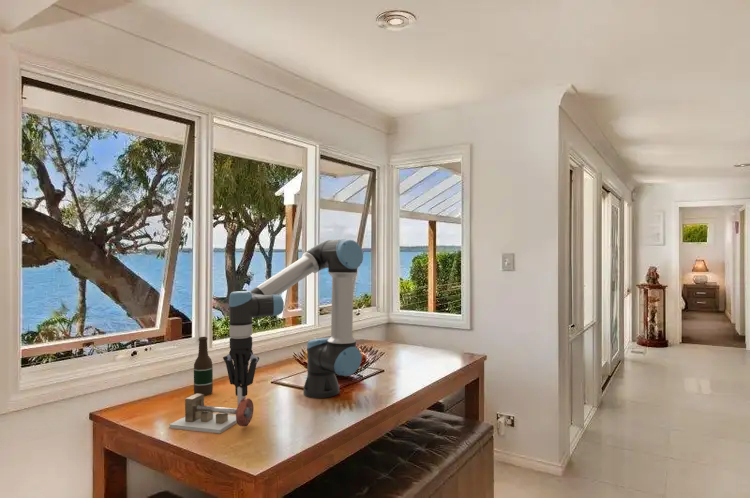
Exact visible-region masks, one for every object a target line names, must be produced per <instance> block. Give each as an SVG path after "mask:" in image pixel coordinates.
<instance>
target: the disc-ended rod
mask: <svg viewBox="0 0 750 498" xmlns="http://www.w3.org/2000/svg"><path fill="white" fill-rule="evenodd" d="M197 410H198V411H208V412H213V413H228V415H236V421H237V423H236V424H237V425H238V427H241V428H242V427H243V428H244V427H247V426H249V424H250V423H251V421H252V419H253V416H254V402H253V400H252V399H251V398H247V397H246V398H244V399H242V400H241V401H240V403H239V405H238V404H237V408H231V407H222V406H221V407H220V406H210V405H204V406H202V405H198V406H197Z"/></svg>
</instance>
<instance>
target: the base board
mask: <svg viewBox="0 0 750 498" xmlns="http://www.w3.org/2000/svg"><path fill="white" fill-rule="evenodd" d="M216 414H218V412H213V419H212V420H210V421H208V422H201V418H200V419H198V420H196V421H194V422H185V416H184V417H181V418H179V419H177V420H175V421H174V422H171V423H170V424H168V425H169V427H168V428H169V429H176V430H186V431H194V432H203V433H211V434H212V433H213V434H221V433H224V432H225V431H227V430H228V429H230V428H231V427H233V426H234V425H236V424H237V421H236V414H228V420H227V421H226V422H224V423H222V424H220V423H216Z"/></svg>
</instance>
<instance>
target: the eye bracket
mask: <svg viewBox="0 0 750 498" xmlns="http://www.w3.org/2000/svg"><path fill="white" fill-rule="evenodd" d="M198 405H202V406H205V396H204V394H199V393H196V394H194V393H193V394H192V395H190V396H188V397H185V398H184V408H185V409H184V411H185V412H184V415H185V416H184V417H185V422H194V421H196V420H198V419H200V418H201V422H208V421H210V420H212V419H213V413H214V412H208V411H198V410H197V406H198ZM217 413H218V412H217ZM228 415H229V414H228V413H218V414H216V423H220V424H222V423H224V422H226V421H227V420H228Z"/></svg>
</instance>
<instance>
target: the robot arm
mask: <svg viewBox="0 0 750 498" xmlns="http://www.w3.org/2000/svg"><path fill="white" fill-rule="evenodd" d="M363 261H364V253H363V250H362V247H361V245H359V243H358V242H356V241H354V240H353V239H346V238H345V239H327V240H323V241H322V242H320V243H318V244H316V245H314V246H313V247H311V248H310V249H308V250H306V251H305V252H303V254H302V255H301V258H299V259H297V260H296V261H293V263H291V264H290V265H288V266H286V267H285V268H283V269H282V270H280V271H278V272H277V273H276V274H274V275H272V276H271V277H270V278H268V279H266V280H265V281H263V282H262V283H261V284H259V285H257V286H256V287H254V288H252V289H251V290H241V291H239V290H238V291H237V290H236V291H231V293H230V294H229V300H228V308H229V309H228V311H229V333H228V334H229V335H228V336H229V337H230V338H229V352H228V354H227V355H225V356H223V357H222V359H223V361H224V363H225V366H226V370H227V375H228V376H227V377H228V380H229V383H230V385H233V386H234V387H235V390H234V391H235V392H234V393H235V397H237V406H238V405H239V403H240V401H241V400H242V399H244V398H247V397H246V396H248V387H249V386H251V385H252V384H253V383H254V379H255V374H256V369H257V364H258V362H259V360H260V357H259V356H255V355H254V352H253V319H255V318H263V317H264V318H265V317H274V316H279V315H281V314H282V313H283V311H284V308H285V305H284V304H285V303H284V299H283V297H282V296H281V294H283V293H284V292H285V291H287V290H289V289H290V288H292V287H294V285H295V284H296V285H297V284H298V283H299V282H301V281H302V280H303V279H305V278H306V277H308V276H309V275H311V274H312V273H314V274H316V273H318V272H319V271H321V270H324V269H327V270H328V271H327V273H328V274H329V276H331V318H330V319H331V320H330V321H331V324H330V325H331V326H330V337H320V338H315V339H310V340H308V341H307V344H306V346H307V347H306V351H307V352H306V355H307V356H306V359H307V360H306V361H307V375H306V378H305V382H304V385H303V393H302V394H303V396H305V397H308V398H313V399H325V398H332V397H336V396H337V395H339V393H340V385H339V382H338V378H337V376H336V374H337V375H338V376H345V377H347V376H352V375H353V374H355V373H356V372H357V370H358V369H359V368H360V366H361V364H362V352H361V351H360V349H359V348H358V347H357V340H356V339H355V337H354V336H353V322H354V321H353V320H354V319H353V317H354V316H353V313H354V312H353V311H354V308H353V307H354V277H355V276H356V275H357V274H358V268H359V267H361V264H362V263H363ZM249 362H250V363H249Z"/></svg>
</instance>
